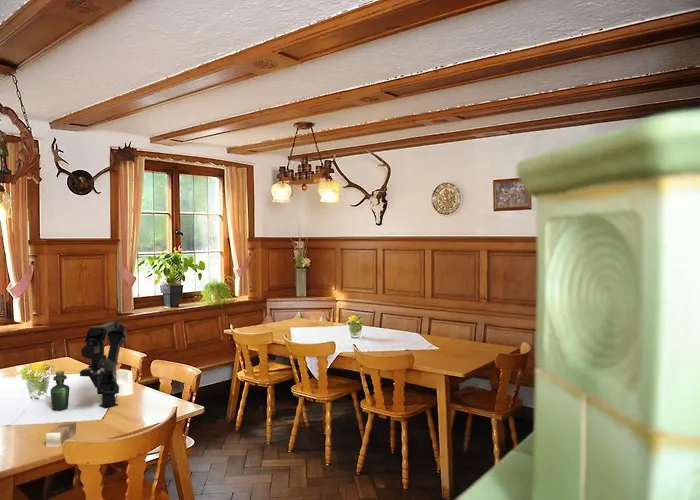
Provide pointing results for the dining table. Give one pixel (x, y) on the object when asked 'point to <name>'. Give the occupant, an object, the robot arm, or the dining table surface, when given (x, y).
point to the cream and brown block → (60, 434)
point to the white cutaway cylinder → (125, 382)
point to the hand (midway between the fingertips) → (96, 387)
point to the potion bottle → (60, 392)
